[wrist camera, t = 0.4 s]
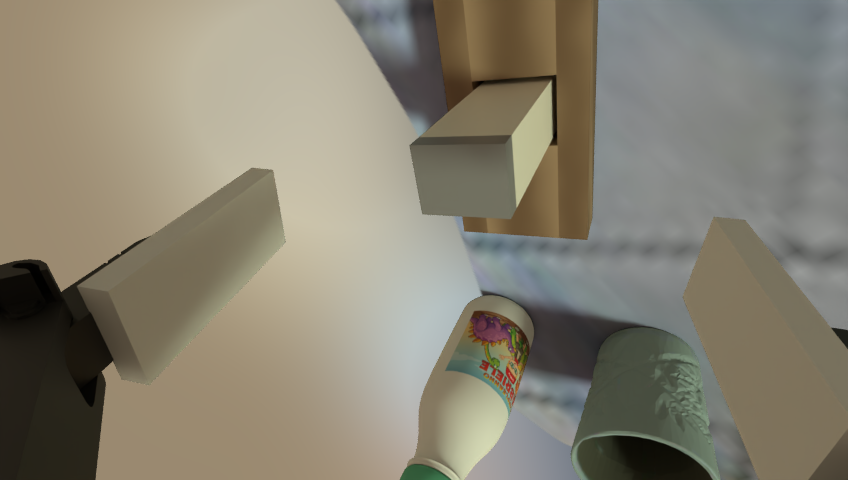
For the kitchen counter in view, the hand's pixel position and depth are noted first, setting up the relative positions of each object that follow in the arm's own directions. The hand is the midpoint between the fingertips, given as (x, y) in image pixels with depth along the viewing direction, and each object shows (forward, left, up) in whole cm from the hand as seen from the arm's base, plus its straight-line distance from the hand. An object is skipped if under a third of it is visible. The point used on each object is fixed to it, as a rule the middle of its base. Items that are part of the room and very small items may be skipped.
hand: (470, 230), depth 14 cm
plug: (+4, 0, -23) cm, 24 cm away
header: (+4, 0, -23) cm, 24 cm away
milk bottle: (+19, +18, -24) cm, 36 cm away
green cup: (+8, +27, -24) cm, 37 cm away
